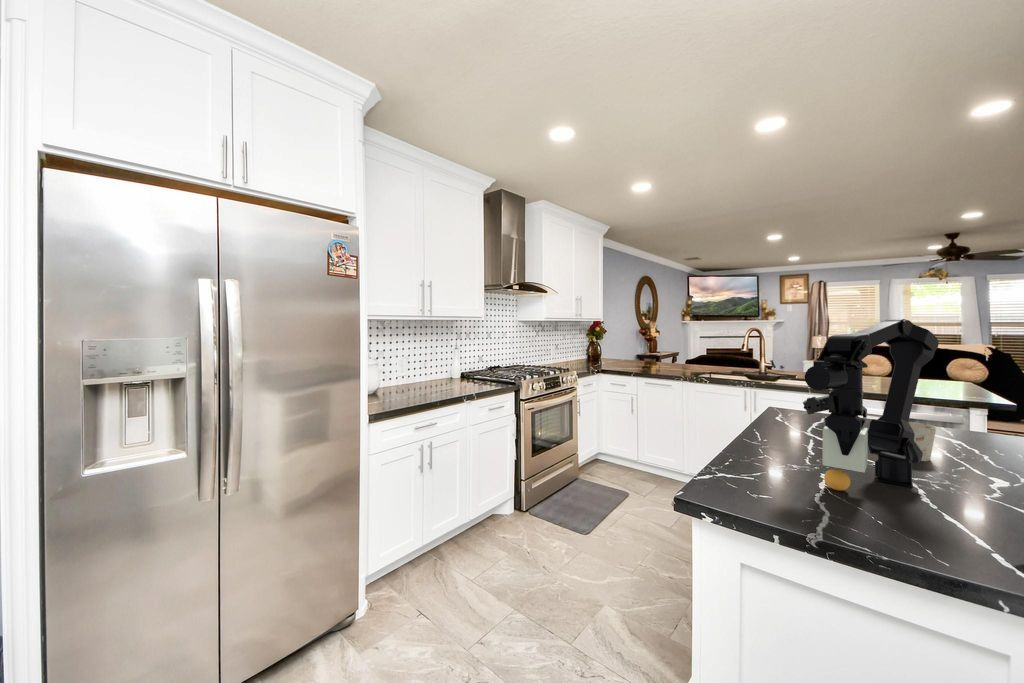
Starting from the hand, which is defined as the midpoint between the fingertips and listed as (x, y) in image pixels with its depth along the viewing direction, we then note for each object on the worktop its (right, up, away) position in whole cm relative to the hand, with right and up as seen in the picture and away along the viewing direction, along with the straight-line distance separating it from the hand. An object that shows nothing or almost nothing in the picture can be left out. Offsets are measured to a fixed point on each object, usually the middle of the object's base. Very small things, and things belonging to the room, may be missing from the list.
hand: (847, 451), depth 97 cm
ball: (-1, -7, +1) cm, 8 cm away
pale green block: (0, -3, 0) cm, 3 cm away
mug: (+37, -9, +23) cm, 44 cm away
